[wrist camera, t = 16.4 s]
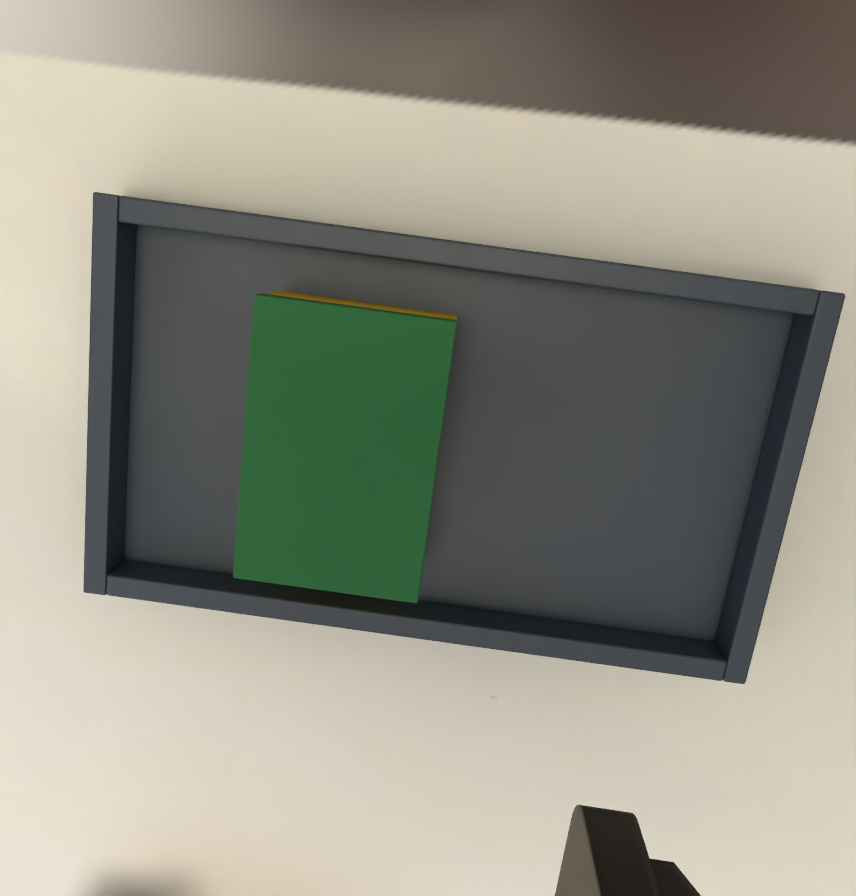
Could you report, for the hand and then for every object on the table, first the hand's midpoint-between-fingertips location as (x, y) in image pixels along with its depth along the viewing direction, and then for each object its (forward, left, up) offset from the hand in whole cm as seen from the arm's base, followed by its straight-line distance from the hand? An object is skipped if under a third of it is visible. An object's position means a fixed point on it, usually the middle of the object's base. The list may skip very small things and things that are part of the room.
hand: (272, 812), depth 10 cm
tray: (-2, -1, -18) cm, 18 cm away
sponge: (+1, -2, -17) cm, 17 cm away
